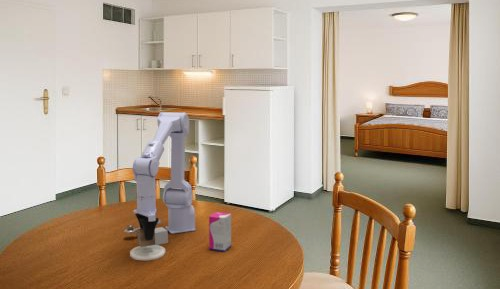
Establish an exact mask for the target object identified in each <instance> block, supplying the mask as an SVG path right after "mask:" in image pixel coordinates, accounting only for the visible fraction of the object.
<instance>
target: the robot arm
mask: <svg viewBox="0 0 500 289" xmlns="http://www.w3.org/2000/svg"><path fill="white" fill-rule="evenodd" d="M156 123H157V129H156V132H155V134H154V136H153V139H152V140H149V141H148V142H147V144H146V146H145V147H144V150H143V152H142V154H141V155H140V157H138V158H136V159H134V161H133V162H132V167H131V169H132V173H133V177H134V181H135V182H136V205H137V206H136V209H133V214H135V217H136V218H137V222H138V224H139V227H140V228H143V229H144V235H145V239H146V240H153V236H154V231H155V228H157V226H158V224H157V223H158V221H159V220H160V219H159V217H156V214H157V207H156V206H157V205H156V204H157V203H156V202H157V201H156V200H157V199H156V198H157V197H156V196H157V195H156V176H157V174H158V173H159V166H160V159H161V157H162V156H163V154H164V151H165V146H164V144H166V143H165V142H166V141H167V139H168V138H169V137H170V138H171V139H170V140H171V142H170V144H171V146H170V147H171V148H170V150H171V152H170V156H171V157H170V180H169V181H168V182H167V183H166V184H165V185H164V189H163V194H162V201H163V203H164V205H166V208H168V209H167V210H168V211H167V212H168V215H167V216H168V225H167V226H165V228H164V229H166V230H168V232H169V234H179V233H187V232H193V231H196V212H195V211H196V210H195V208H194V206H193V205H192V203H193V198H194V194H193V187H192V184H190V183H189V182H188V181H186V180H185V163H186V162H185V160H186V158H185V157H186V150H185V149H186V136H188V135H189V134H190V133H189V132H190V118H189V115H188V113H186V112H170V111H169V112H165V111H161V112H159V114H158V115H157V122H156Z"/></svg>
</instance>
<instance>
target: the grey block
mask: <svg viewBox="0 0 500 289" xmlns="http://www.w3.org/2000/svg"><path fill="white" fill-rule="evenodd" d="M168 232H169V231H168V230H167V229H166V228H164V227H163V226H161V227H155V245H159V246H161V245H165V244H168V243H169V237H168Z"/></svg>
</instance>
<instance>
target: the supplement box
mask: <svg viewBox="0 0 500 289" xmlns="http://www.w3.org/2000/svg"><path fill="white" fill-rule="evenodd" d="M208 222H209V224H208V228H209V229H208V232H209V233H208V241H209V242H208V243H209V244H208V247H209V248H208V249H209V251H217V252H221V253H222V252H223V253H225V252H227V251H228V250H229V249H230V248H231V247H232V214H231V213H227V212H218V211H217V212H216V211H215V212H214V213H212V214H211V215H209V216H208Z"/></svg>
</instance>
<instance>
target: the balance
mask: <svg viewBox="0 0 500 289" xmlns="http://www.w3.org/2000/svg"><path fill="white" fill-rule="evenodd" d="M160 224H162V220H161V219H159V221H158V223H157V225H160ZM137 229H140V226H139V227H136V228H135V227H134V224H127V225H126V229H124V233H125V234H130V235H131V234H135V233H137ZM135 237H136V238H137V239H138V233H137V234H136V236H135Z"/></svg>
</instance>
